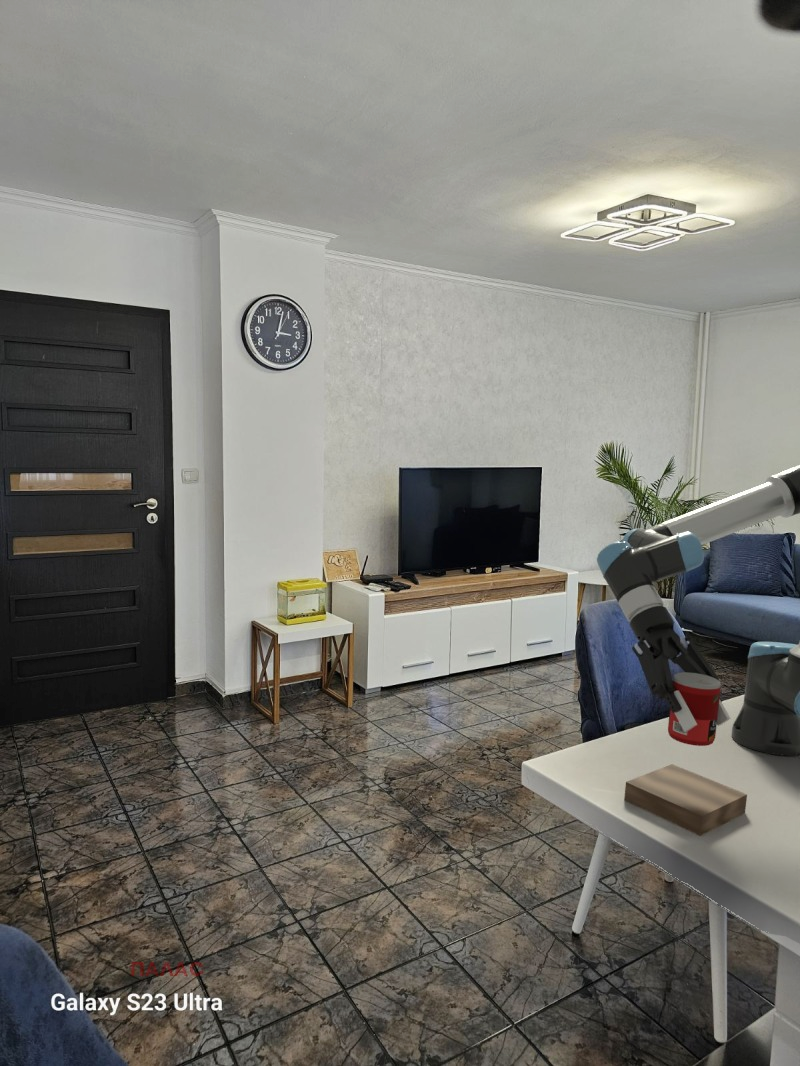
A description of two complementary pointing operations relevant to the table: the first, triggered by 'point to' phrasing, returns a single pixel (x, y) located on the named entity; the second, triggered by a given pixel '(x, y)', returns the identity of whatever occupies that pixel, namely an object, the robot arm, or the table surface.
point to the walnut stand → (685, 798)
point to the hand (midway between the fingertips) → (707, 725)
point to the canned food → (696, 708)
